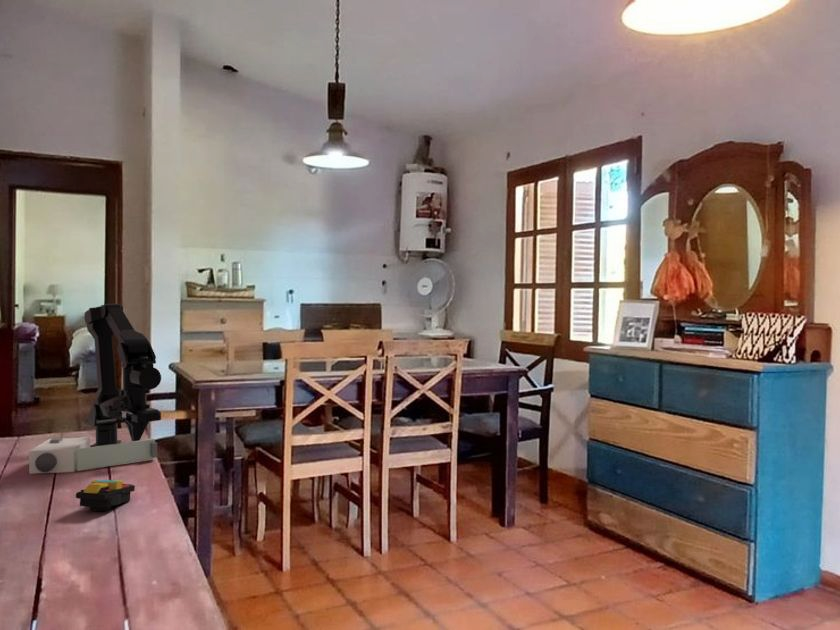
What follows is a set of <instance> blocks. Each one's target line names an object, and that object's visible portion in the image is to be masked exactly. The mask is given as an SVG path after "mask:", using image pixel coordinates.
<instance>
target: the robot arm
mask: <svg viewBox="0 0 840 630" xmlns="http://www.w3.org/2000/svg"><path fill="white" fill-rule="evenodd" d="M83 320H84V323H85V325H86V329H87V330H86V331H87V332H88V333H89V334H90V336H92V338H93V339H94V351H95V352H94V353H95V354H94V355H95V364H96V377H97V391H96V392H95V394H94V396H93V398H92V405H91V408H90V411H89V412H88V415H87V423H88V425H89V426H92V427H95V442H94V443H93V444H91V447H96V446H103V445H110V444H117V443H122V440H121V439H120V440H119V439H118V424H121V423H123V424H126V428H127V430H128V432H129V436H130V439H131V440H130V441H131V442H132V441H139V440H142V437H143V435H144V432H145V430H146V428H147V426H148V424H149V423H151V422H157V421H161V420H162V412H161V411H160V410H159V409H157V408H154V407H150V404H148V401H147V398H148V397H147V394H150V390H154V389H156V388H157V387H159V385H160V384H161V382H162V374H161V372H160V371H159V370H158V369H157V368H156V367H154V365H155V364H157V361H156V360H157V356H156V354H155V351H154V349H153V347H152V344H151V342H150V341H149V340H148V338H147V337H146V336H145V335H144V334H143V333H141V332H139V331H137V330H136V329H134V327H133V324H132V323H131V322H130V320H129V318H128V317H127V315H126V314H125V312H124V307H123V305H122V304H120V303H104V304H101V305H100V306H96V307H89V308H88V310H86V311H85V312H84V319H83ZM113 336H115V338H116V340H117V342H118V343H117V348H116V351H117V356H118V357H119V359H120V361H121V362H122V363H121V367H122V389H120V390H119V389H118V388H117V381H116V369H115V367H116V366H115V357H114V343H113Z"/></svg>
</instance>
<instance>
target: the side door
mask: <svg viewBox="0 0 840 630" xmlns="http://www.w3.org/2000/svg"><path fill="white" fill-rule="evenodd" d="M156 458H158V442H156V439H155V438H148V439H140V440H139V441H132V440H131V441H126V442H120V443H117V444H110V445H103V446H96V447H92V446H90V447H88V448H81V449H76V470H75V471H77V472H80V471H85V470H93V469H97V468H98V469H99V468H106V467H111V466H118V465H125V464H131V463H137V462H143V461H149V460H156Z"/></svg>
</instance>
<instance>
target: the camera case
mask: <svg viewBox="0 0 840 630" xmlns="http://www.w3.org/2000/svg"><path fill="white" fill-rule="evenodd" d="M88 447H91V438H90V437H70V438H69V437H68V438H67V437H66V438H63V437H53V438H49V439H46V440H45V441H44V442H42V443H40V444H39V445H37V446H35V447H34V448H32V449H30V450H29V451H28V457H29V458H28V461H29V462H28V465H29V467H28V468H29V470H28V472H29V475H30V474H31V475H32V474H33V475H34V474H56V473H59V474H60V473H74V472H76V471H77V470H76V449H81V448H88Z"/></svg>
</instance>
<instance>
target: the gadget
mask: <svg viewBox="0 0 840 630" xmlns="http://www.w3.org/2000/svg"><path fill="white" fill-rule="evenodd" d="M135 488H136V486H135V484H132V483H124V482H123V480H122V479H120V478H119V479H108V480H107V479H106V480H105V479H100V480H97V479H95V480H92V481H91V483H89V484H88V485H87V486H86V487H85V488H84V489H80V491H78V492H76V493H75V498H76V499H77V500H78V499H79V507H85V508H89V509H90V511H93V512H103V511H110V510H111V508H112V507H114V506H117V505H120V504H123V503H127V502H131V493H132V492H135V490H136V489H135Z"/></svg>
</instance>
